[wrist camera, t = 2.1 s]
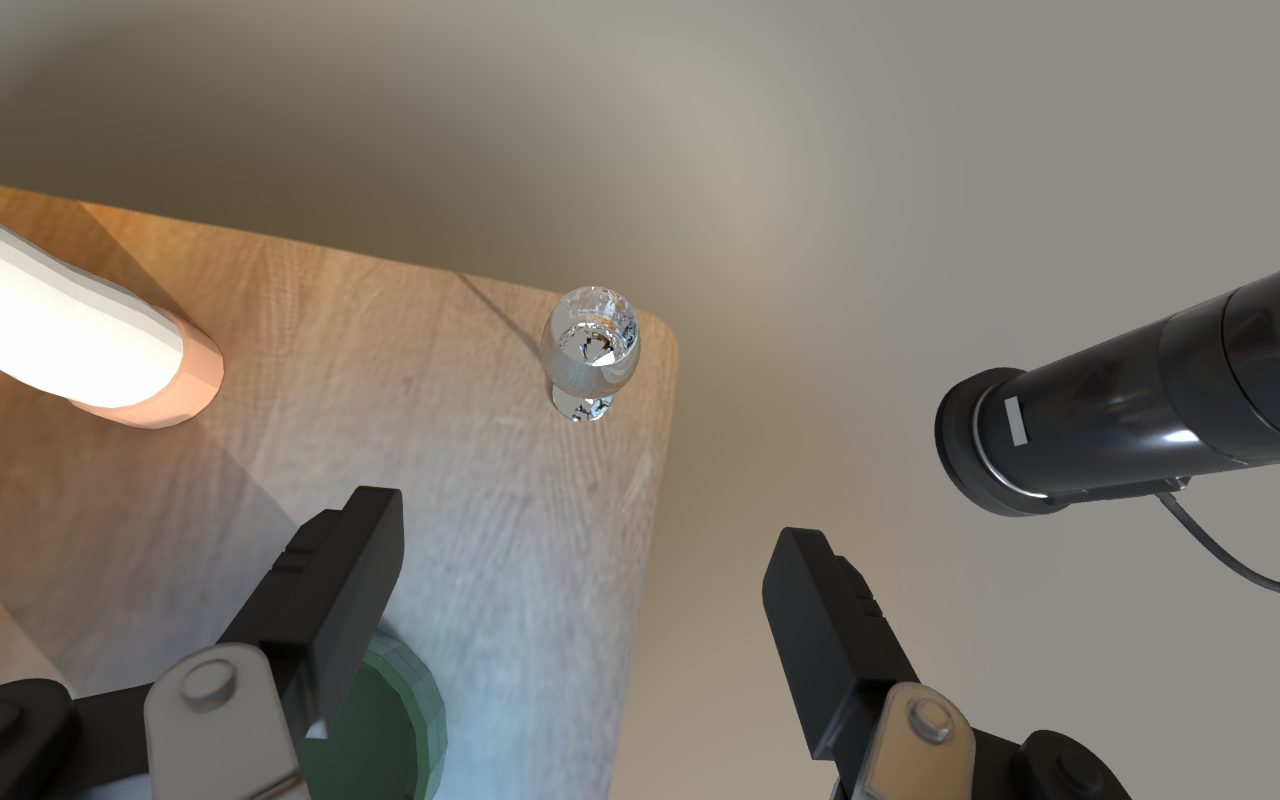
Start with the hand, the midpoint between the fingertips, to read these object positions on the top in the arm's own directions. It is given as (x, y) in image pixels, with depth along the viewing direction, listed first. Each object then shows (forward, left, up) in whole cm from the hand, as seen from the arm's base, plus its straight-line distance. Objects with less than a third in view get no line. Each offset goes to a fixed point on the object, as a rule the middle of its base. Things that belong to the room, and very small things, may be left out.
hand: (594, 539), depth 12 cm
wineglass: (+7, -9, -27) cm, 29 cm away
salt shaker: (+27, +10, -27) cm, 40 cm away
